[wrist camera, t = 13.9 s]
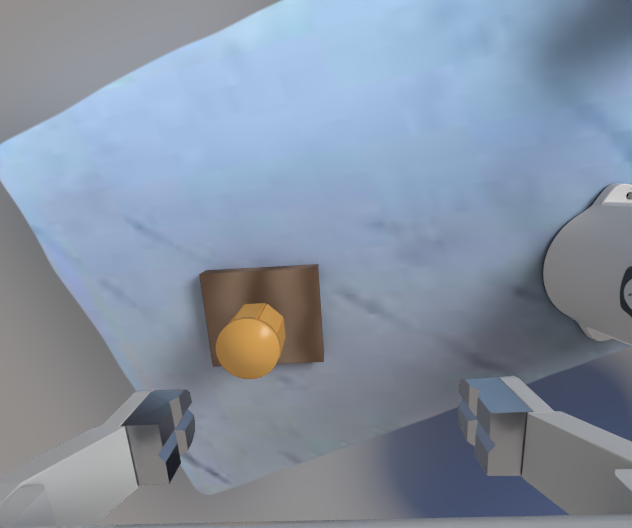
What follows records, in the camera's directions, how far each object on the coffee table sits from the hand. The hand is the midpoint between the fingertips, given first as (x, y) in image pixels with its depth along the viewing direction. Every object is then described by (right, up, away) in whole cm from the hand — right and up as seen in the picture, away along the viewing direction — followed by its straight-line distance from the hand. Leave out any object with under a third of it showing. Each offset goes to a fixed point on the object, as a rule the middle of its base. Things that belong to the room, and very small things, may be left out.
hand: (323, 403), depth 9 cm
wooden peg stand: (-7, -2, +30) cm, 31 cm away
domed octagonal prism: (-7, -3, +26) cm, 27 cm away
